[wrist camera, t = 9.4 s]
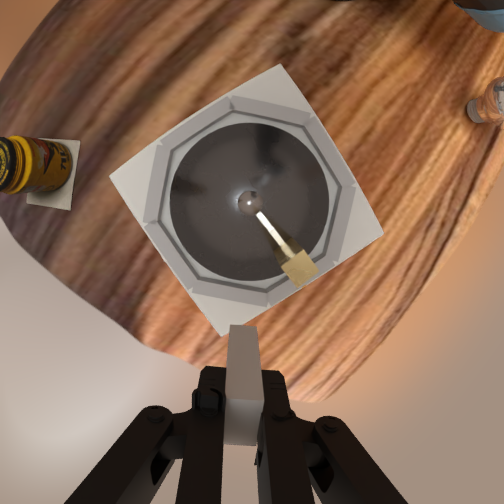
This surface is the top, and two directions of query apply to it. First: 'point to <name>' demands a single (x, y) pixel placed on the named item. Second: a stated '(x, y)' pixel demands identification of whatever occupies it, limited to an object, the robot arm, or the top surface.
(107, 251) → the top surface
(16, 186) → the condiment
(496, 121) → the light bulb
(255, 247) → the dial
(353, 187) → the dial base
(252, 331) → the robot arm
